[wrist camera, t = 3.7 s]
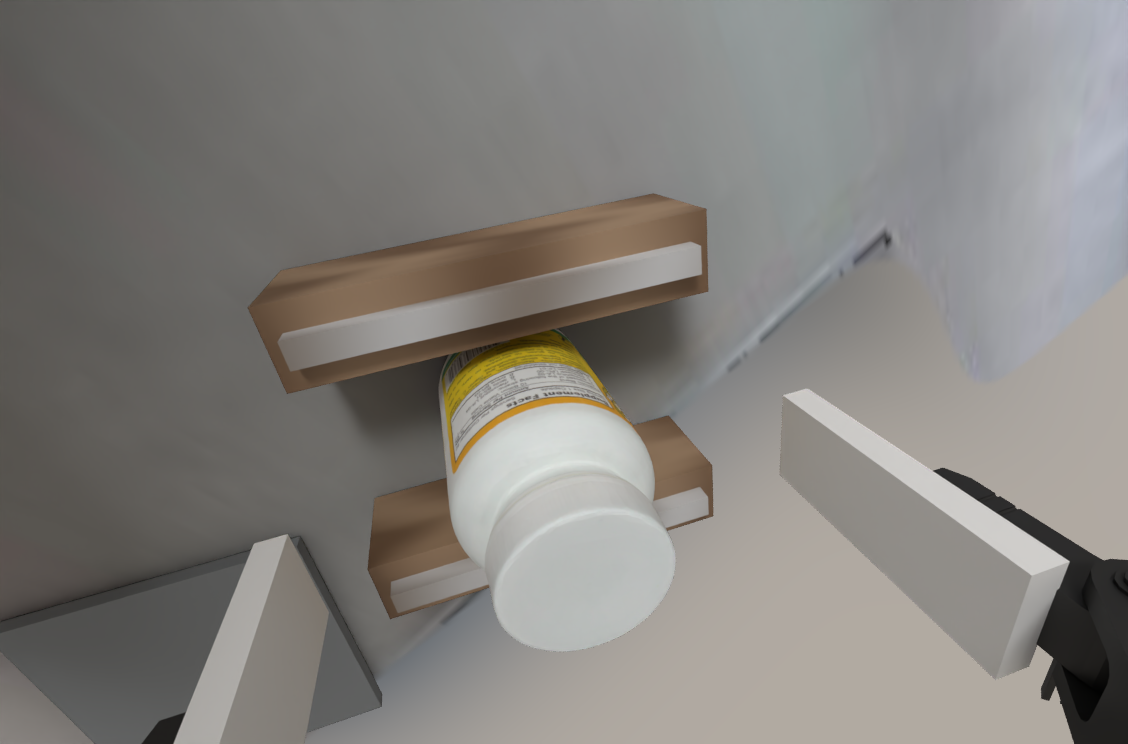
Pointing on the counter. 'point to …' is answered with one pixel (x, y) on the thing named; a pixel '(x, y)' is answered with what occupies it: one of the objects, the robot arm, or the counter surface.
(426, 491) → the wooden blocks
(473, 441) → the supplement bottle
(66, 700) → the mat
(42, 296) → the counter surface
